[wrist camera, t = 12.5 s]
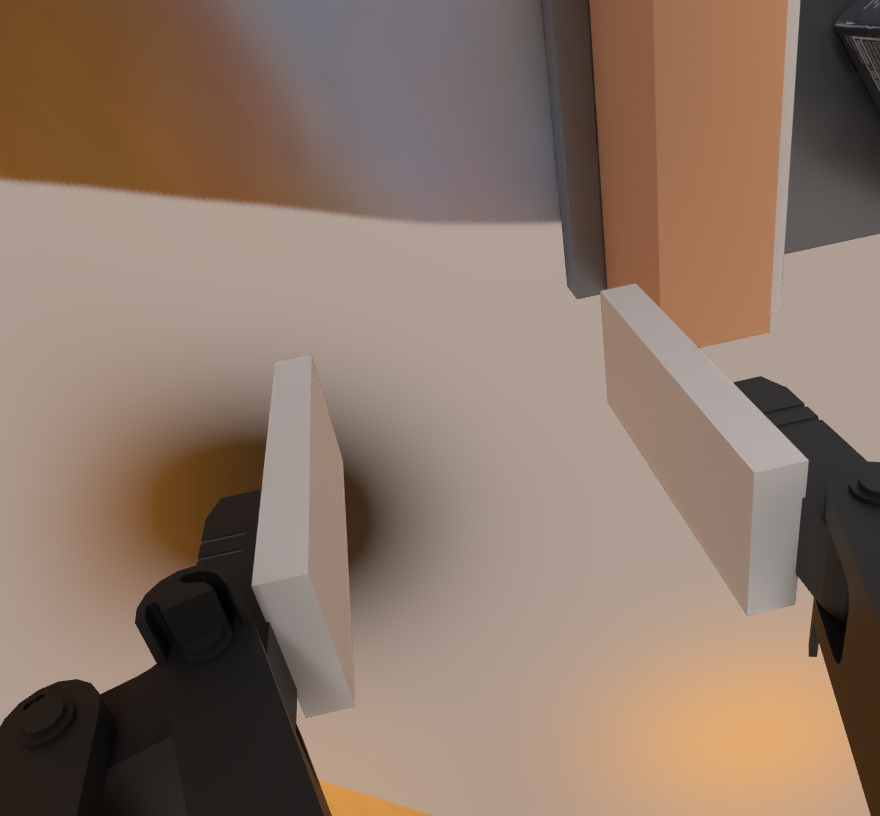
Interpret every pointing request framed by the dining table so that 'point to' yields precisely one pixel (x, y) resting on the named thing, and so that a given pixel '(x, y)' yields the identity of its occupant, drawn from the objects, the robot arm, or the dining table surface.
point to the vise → (812, 145)
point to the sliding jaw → (696, 155)
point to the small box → (863, 41)
